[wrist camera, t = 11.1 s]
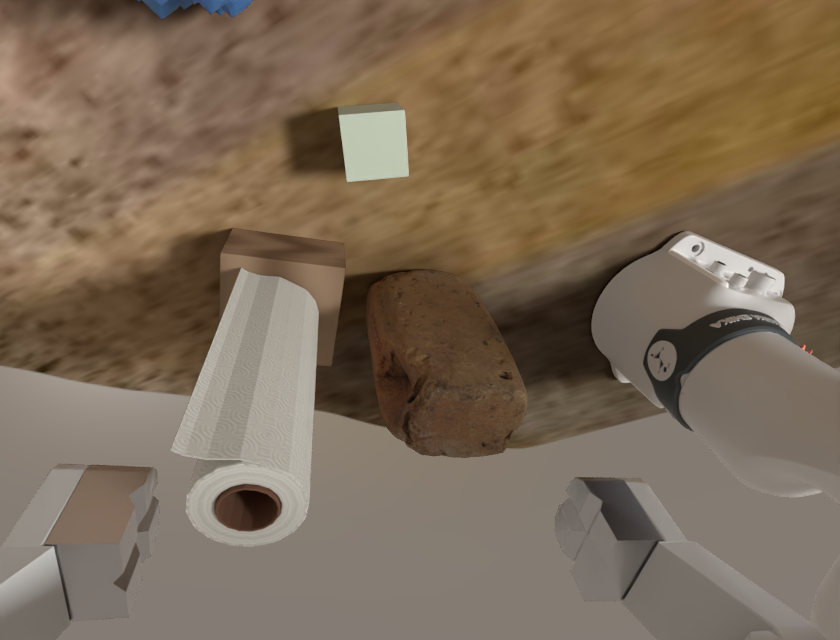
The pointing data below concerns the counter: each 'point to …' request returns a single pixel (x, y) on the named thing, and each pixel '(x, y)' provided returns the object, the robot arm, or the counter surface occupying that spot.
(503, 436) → the block
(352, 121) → the green cube
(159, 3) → the grapes
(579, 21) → the counter surface
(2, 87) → the counter surface
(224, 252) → the walnut block
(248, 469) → the paper towel roll
